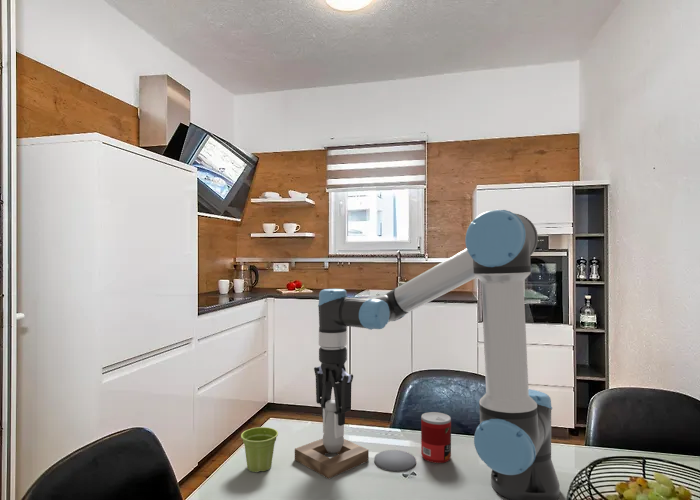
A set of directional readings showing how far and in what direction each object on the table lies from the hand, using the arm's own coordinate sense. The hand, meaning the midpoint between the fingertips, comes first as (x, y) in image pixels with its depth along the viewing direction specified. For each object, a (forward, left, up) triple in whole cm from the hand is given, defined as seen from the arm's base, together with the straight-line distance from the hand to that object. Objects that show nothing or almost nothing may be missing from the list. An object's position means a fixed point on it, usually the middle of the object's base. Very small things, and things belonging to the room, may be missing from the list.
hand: (333, 433), depth 122 cm
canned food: (-18, -21, -7) cm, 29 cm away
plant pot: (+10, +17, -7) cm, 21 cm away
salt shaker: (0, 0, -4) cm, 4 cm away
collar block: (0, +1, -7) cm, 7 cm away
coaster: (-12, -11, -7) cm, 18 cm away
